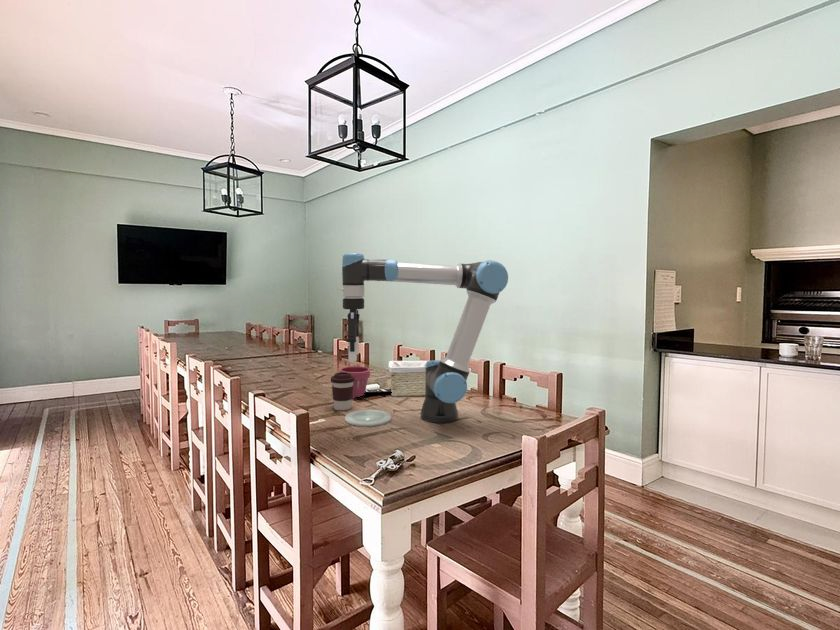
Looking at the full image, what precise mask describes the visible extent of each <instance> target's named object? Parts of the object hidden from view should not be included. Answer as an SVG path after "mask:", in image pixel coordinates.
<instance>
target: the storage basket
mask: <svg viewBox="0 0 840 630" xmlns="http://www.w3.org/2000/svg"><path fill="white" fill-rule="evenodd" d="M427 361H428V360H389V361H388V373H389V374H390V375H389V377H390V391H391V392H392V393H391V396H392V397H414V396H415V397H422V396H424V397H425V376H426V370H425V367H426V362H427Z"/></svg>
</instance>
